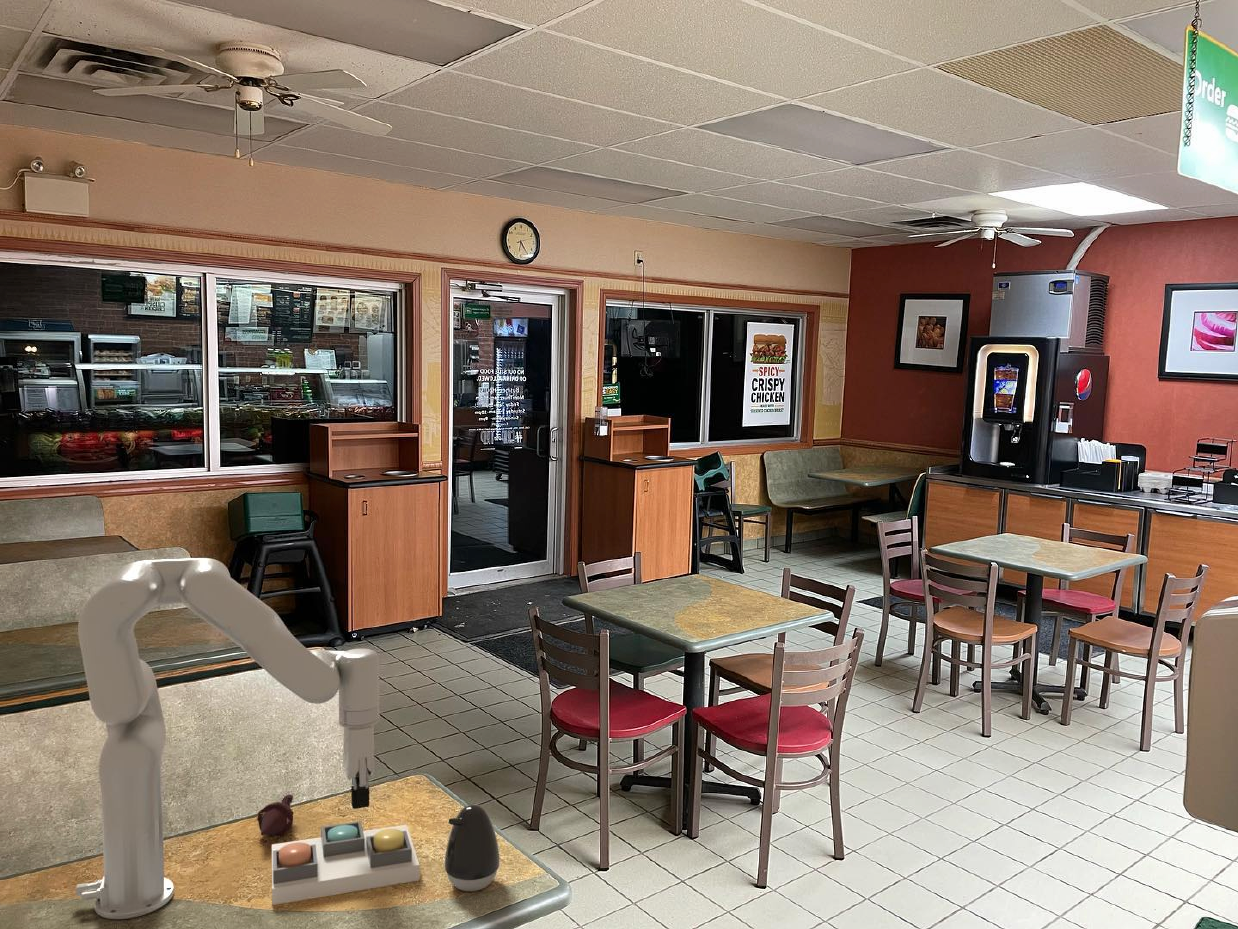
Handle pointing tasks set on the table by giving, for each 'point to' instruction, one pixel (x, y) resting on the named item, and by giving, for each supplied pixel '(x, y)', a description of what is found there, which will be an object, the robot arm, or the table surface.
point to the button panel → (343, 866)
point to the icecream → (276, 818)
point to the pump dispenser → (472, 850)
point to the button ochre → (388, 840)
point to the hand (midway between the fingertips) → (360, 806)
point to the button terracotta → (294, 855)
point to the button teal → (342, 833)
